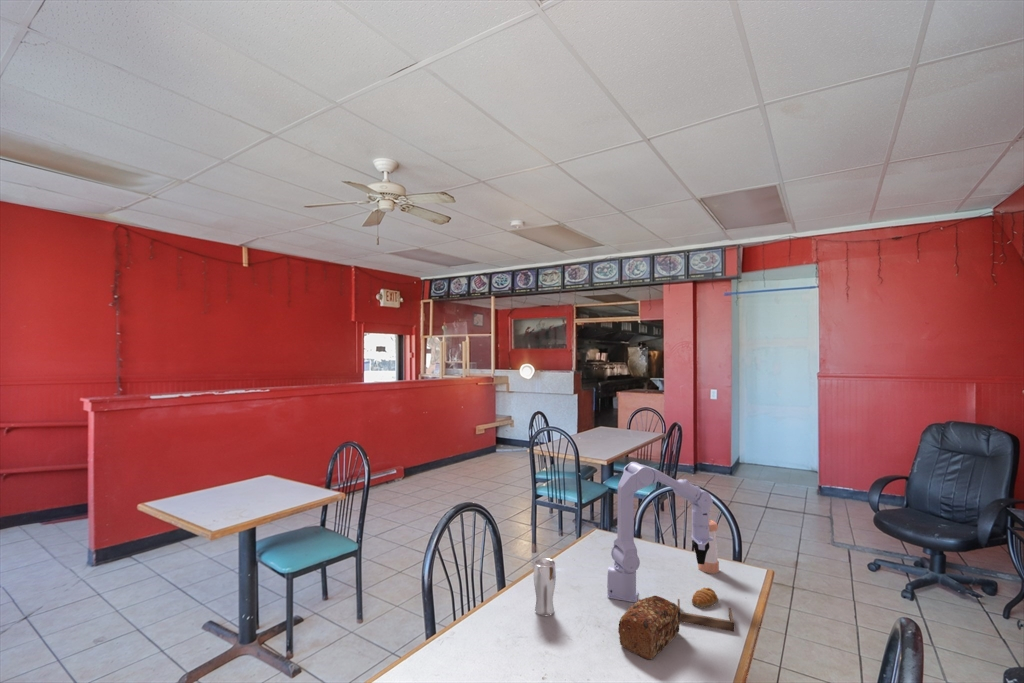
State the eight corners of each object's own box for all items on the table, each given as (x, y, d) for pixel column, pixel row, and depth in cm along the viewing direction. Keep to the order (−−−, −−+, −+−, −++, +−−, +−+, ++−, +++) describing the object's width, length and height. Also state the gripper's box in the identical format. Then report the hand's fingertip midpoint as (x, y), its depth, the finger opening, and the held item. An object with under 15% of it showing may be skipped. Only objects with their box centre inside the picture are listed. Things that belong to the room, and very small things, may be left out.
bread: (652, 663, 121) (651, 624, 122) (616, 646, 129) (616, 609, 129) (682, 634, 135) (682, 599, 135) (648, 620, 142) (648, 586, 143)
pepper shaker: (715, 565, 181) (714, 515, 182) (721, 574, 173) (721, 522, 174) (695, 564, 181) (695, 514, 182) (701, 573, 174) (701, 521, 175)
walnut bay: (677, 621, 141) (677, 612, 141) (677, 606, 150) (677, 598, 150) (734, 631, 136) (734, 622, 136) (730, 616, 144) (730, 607, 145)
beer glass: (558, 608, 148) (558, 560, 149) (551, 619, 142) (551, 568, 142) (538, 603, 151) (538, 556, 152) (529, 613, 145) (530, 564, 145)
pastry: (706, 612, 147) (706, 600, 147) (686, 604, 152) (686, 592, 152) (720, 602, 153) (719, 590, 153) (700, 595, 158) (700, 583, 158)
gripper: (714, 532, 155) (714, 573, 155) (711, 518, 169) (711, 556, 168) (691, 529, 158) (692, 570, 157) (690, 516, 171) (690, 554, 171)
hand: (700, 563), depth 163 cm, fingers closed
